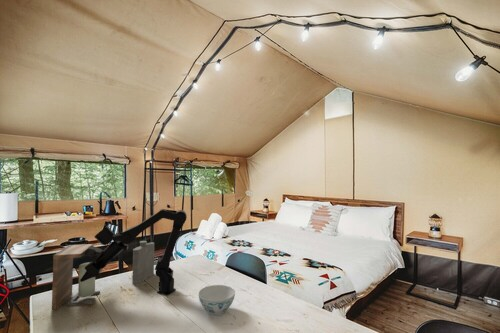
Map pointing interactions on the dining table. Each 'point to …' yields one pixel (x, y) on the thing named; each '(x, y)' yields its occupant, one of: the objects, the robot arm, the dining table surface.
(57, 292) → the walnut overhang
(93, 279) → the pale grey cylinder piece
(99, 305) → the dining table surface
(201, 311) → the dining table surface
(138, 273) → the hip flask
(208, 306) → the chinaware
